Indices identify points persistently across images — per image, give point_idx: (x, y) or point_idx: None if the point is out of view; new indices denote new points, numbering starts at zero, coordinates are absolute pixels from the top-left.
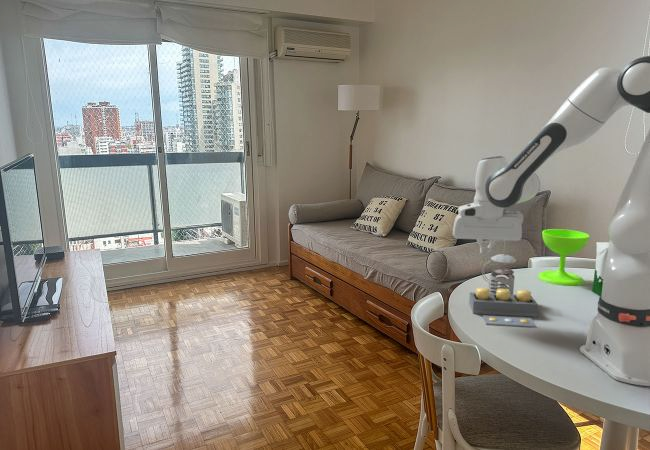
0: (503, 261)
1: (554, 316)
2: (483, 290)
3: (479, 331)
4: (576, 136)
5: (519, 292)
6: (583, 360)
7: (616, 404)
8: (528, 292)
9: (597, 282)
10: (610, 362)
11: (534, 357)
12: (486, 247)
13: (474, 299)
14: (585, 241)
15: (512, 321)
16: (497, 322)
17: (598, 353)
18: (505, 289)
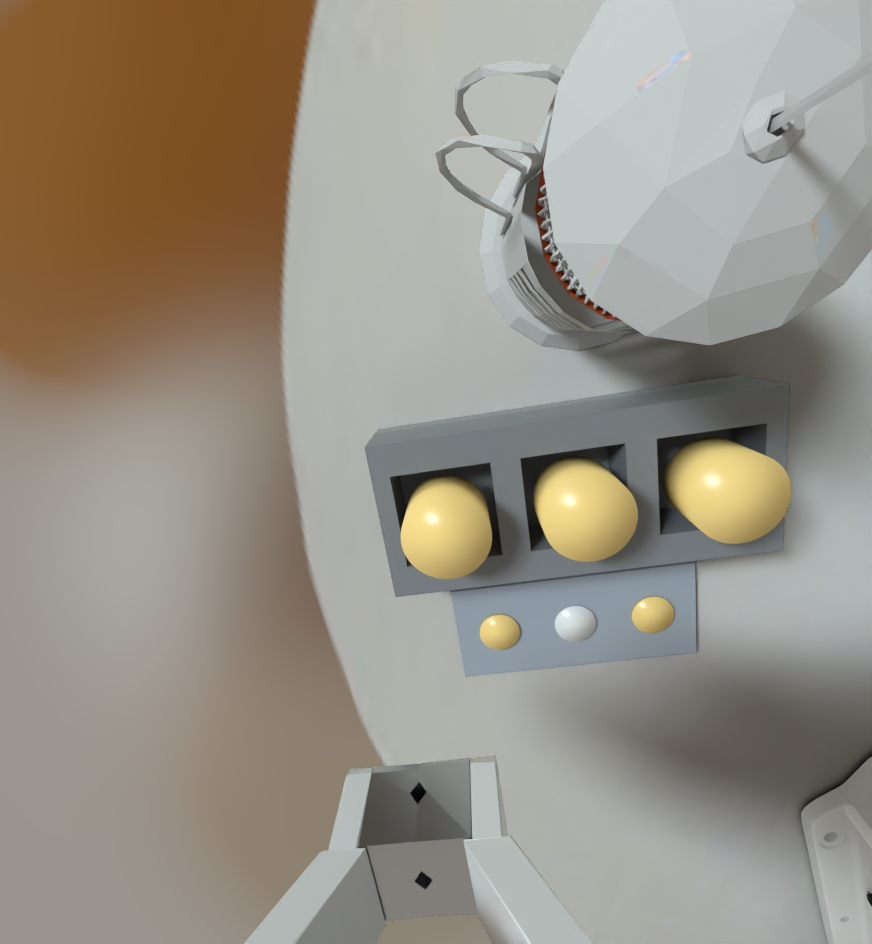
0: (698, 327)
1: (840, 486)
2: (449, 550)
3: (435, 740)
4: None
5: (702, 525)
6: (782, 863)
7: None
8: (771, 506)
9: None
10: (867, 914)
11: (616, 876)
12: (440, 871)
13: (399, 568)
14: None
15: (591, 633)
16: (518, 657)
17: (858, 865)
18: (610, 486)
